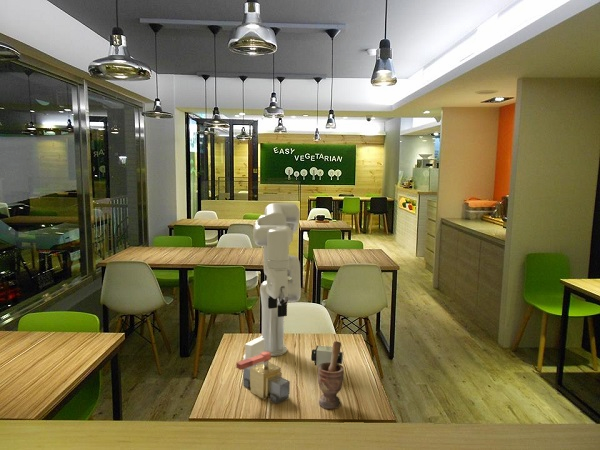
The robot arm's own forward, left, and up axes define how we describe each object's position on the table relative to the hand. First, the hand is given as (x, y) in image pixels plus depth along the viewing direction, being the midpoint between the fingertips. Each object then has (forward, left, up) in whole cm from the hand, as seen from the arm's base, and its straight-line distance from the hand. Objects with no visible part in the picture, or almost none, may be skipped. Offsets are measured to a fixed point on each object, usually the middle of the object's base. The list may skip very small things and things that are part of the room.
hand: (277, 312), depth 159 cm
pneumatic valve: (+4, +23, -30) cm, 38 cm away
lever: (-2, -8, -17) cm, 19 cm away
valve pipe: (-2, -3, -29) cm, 30 cm away
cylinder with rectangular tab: (-18, +5, -30) cm, 35 cm away
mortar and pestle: (+18, +9, -30) cm, 36 cm away
